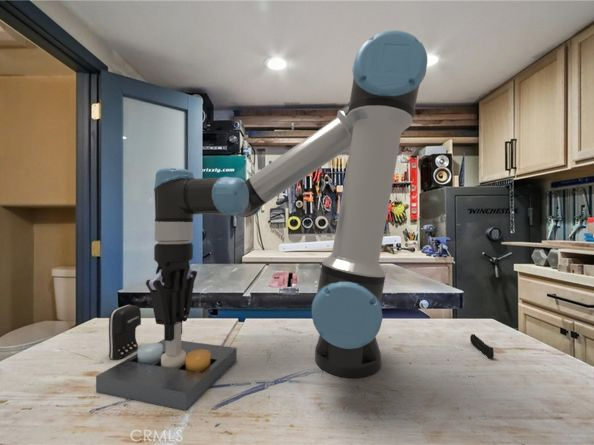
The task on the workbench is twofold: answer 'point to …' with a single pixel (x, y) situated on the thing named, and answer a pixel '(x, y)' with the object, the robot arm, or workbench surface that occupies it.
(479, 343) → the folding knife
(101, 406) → the workbench surface
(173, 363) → the ivory button
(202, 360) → the orange button
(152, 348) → the pale blue button
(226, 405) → the workbench surface
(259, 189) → the robot arm
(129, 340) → the battery charger
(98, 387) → the panel
